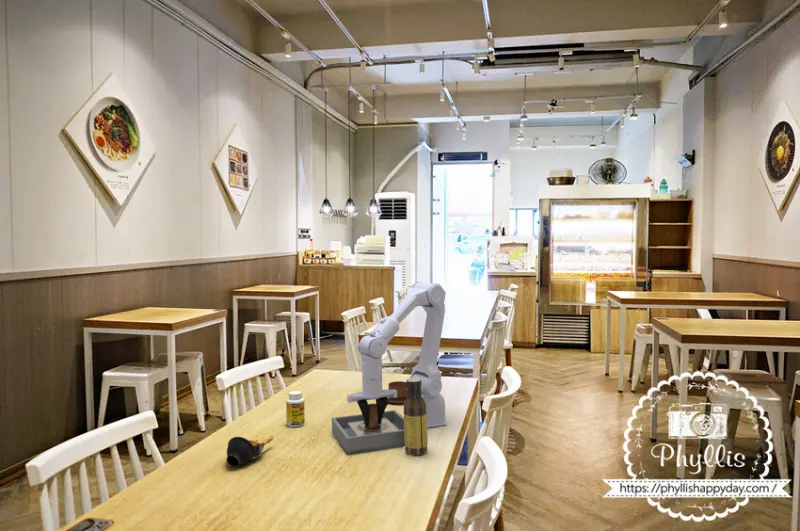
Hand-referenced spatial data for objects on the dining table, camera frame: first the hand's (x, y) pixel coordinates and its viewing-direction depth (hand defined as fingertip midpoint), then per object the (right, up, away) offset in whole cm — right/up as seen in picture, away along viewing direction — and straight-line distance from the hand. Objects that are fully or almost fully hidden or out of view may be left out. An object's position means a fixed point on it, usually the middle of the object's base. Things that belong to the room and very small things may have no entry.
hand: (372, 424), depth 154 cm
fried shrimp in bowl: (-31, -5, -13) cm, 34 cm away
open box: (0, -4, 0) cm, 4 cm away
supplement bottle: (-25, -4, +12) cm, 28 cm away
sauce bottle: (+12, -5, -10) cm, 16 cm away
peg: (0, -2, 0) cm, 2 cm away
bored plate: (0, -4, 0) cm, 4 cm away
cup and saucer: (+7, -3, +37) cm, 38 cm away
